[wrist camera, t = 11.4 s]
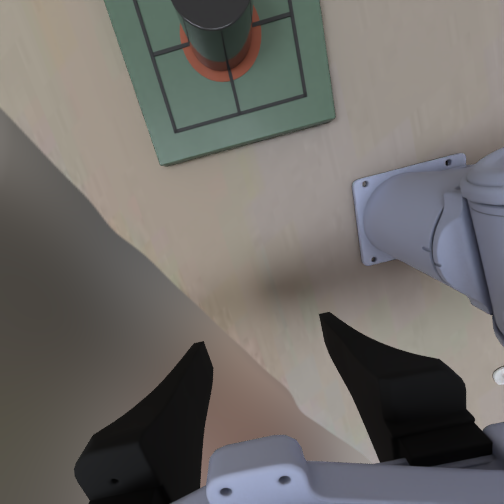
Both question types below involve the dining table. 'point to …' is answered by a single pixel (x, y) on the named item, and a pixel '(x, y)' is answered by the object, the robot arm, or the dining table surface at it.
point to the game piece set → (499, 376)
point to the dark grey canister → (217, 30)
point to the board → (225, 78)
